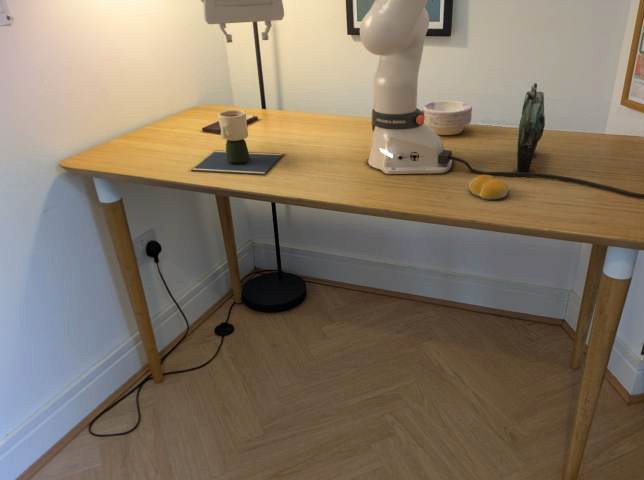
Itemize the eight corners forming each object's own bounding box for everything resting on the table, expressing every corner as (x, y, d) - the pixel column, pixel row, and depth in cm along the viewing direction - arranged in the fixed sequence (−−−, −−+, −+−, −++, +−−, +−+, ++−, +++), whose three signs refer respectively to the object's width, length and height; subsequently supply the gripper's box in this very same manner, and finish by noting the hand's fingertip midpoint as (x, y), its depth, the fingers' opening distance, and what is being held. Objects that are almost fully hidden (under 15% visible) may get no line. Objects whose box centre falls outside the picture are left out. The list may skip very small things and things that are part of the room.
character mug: (236, 154, 159) (229, 107, 152) (259, 156, 157) (253, 108, 150) (216, 167, 150) (208, 118, 143) (240, 169, 148) (233, 120, 141)
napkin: (283, 154, 158) (282, 153, 158) (263, 175, 145) (263, 173, 145) (216, 151, 162) (216, 150, 162) (191, 171, 148) (191, 169, 148)
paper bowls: (420, 124, 182) (421, 99, 178) (467, 124, 181) (469, 99, 177) (422, 138, 169) (423, 112, 165) (472, 138, 169) (475, 111, 164)
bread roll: (493, 203, 128) (495, 187, 126) (463, 192, 134) (464, 176, 131) (515, 194, 132) (517, 178, 130) (485, 183, 138) (487, 168, 136)
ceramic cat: (517, 149, 159) (527, 76, 149) (541, 151, 158) (552, 77, 147) (510, 174, 143) (520, 93, 133) (536, 176, 142) (548, 95, 131)
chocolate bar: (201, 128, 178) (235, 113, 192) (202, 131, 178) (235, 116, 192) (225, 131, 175) (257, 116, 189) (225, 134, 175) (257, 119, 189)
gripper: (198, -17, 134) (208, 45, 142) (282, -20, 140) (287, 40, 147) (196, -18, 140) (205, 42, 147) (277, -21, 145) (282, 37, 153)
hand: (247, 41), depth 147 cm, fingers open, 8 cm apart
